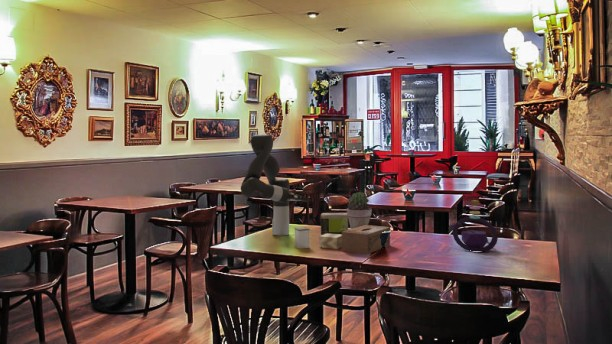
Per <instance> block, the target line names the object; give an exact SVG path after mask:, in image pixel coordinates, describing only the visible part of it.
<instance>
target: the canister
mask: <svg viewBox="0 0 612 344" xmlns="http://www.w3.org/2000/svg"><path fill="white" fill-rule="evenodd" d="M293 229H294V247H295V248H297V249H299V250H300V249H309V248H310V230H311V229H310V228H308V227H306V226H301V227H300V226H299V227H294V228H293Z"/></svg>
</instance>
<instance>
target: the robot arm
mask: <svg viewBox="0 0 612 344" xmlns="http://www.w3.org/2000/svg"><path fill="white" fill-rule="evenodd" d="M250 146H251V149H252V151H253V153H254V154H255V155H256V157H254V159H252V160H251V162H250V164H249V166H248V169H247V173H246V175H245V177H244V178H243V181H242V182H241V185H240V192H241V194H242V195H243V196H244V197H250V196H252V195H254V194H255V193H256V192H257V193H258V196H260V197H261V198H264V199H269V200H271V201H273V218H272V219H271V225H272V226H271V228H272V230H271V231H272V233H271V234H272V235H273V236H280V237H281V236H282V237H283V236H288V235H290V202H292V201H293V202H297V203H298V202H299V201H301V202H305V203H308V202H309V197H306V196H304V195H302V194H297V193H293V192H290V190H291V189H290V187H291V186H290V180H289V179H288V178H277V176H278V175H279V172H280V170H281V169H280V165H279V161H278V159H277V158H276V157H275V156H274V155H273V154H271V152H272V150H273V147H274V140H273V136H272V135H271V134H265V133H264V134H254V135H253V136H251V138H250ZM263 172H264V175H265V176H266V179H267V181H268V183H266V182H264V181H263V180H261V177H262V173H263Z"/></svg>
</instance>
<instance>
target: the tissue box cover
mask: <svg viewBox="0 0 612 344" xmlns="http://www.w3.org/2000/svg"><path fill="white" fill-rule="evenodd" d="M384 231H390V233H389V236H388V240H387V242H386V244H385V248H386V247H390V246H391V227H390V226H379V225H371V224H370V225H369V224H368V225H364V226H360V227H357V228H353V229H351V228H350V229H348V230H346V231H343V232H342V247H341V251H342V252H348V253H356V254H362V255H363V254H364V255H369V254H371V253H374V252H376V251H379V250H382V249H383V248H382V245H381V239H380V235H381V233H382V232H384ZM381 248H382V249H381Z"/></svg>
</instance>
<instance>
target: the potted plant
mask: <svg viewBox="0 0 612 344" xmlns="http://www.w3.org/2000/svg"><path fill="white" fill-rule="evenodd" d="M371 195H372V194H371V191H370V190H368V189H367V190H365V191H364V192H362V191H360V190H359V191H358V192H354V193H352V194H351V196H349V200H348V201H349V203H348V204H347V206H343V207H344V209H345V208H346V213H347V214H348V222H349V223H348V224H349V227H350V229H353V228H357V227H360V226H364V225H369V223H370V218H371V216H372V212H373V209H372V208H370V207H369V206H371V207H372V205H370V204H369V203H368V202H370V197H371Z"/></svg>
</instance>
